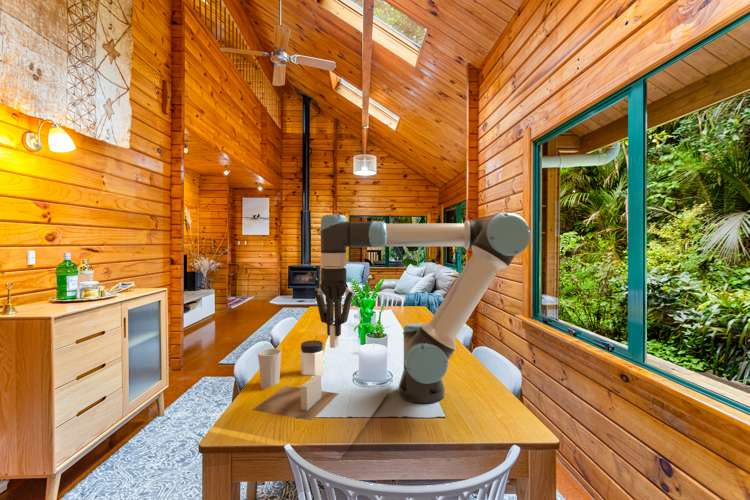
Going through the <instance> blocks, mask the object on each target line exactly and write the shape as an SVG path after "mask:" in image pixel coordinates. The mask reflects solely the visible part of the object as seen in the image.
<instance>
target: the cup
mask: <svg viewBox="0 0 750 500" xmlns="http://www.w3.org/2000/svg"><path fill="white" fill-rule="evenodd" d="M257 358H258V359H257V360H258V365H259V377H260V378H259V379H260V388H261V389H262V390H267V389H268V388H270V387H271V386H272V387H273V386H276V385H278V384H279V383H280V379H281V377H280V376H281V375H280V374H281V361H282V350H281V349H279V348H265V349H261V350H259V351H258V352H257Z"/></svg>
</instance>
